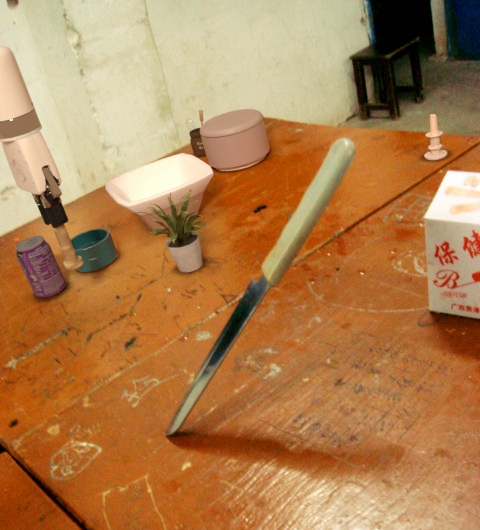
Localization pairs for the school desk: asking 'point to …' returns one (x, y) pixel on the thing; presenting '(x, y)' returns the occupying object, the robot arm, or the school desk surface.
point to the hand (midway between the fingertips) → (56, 222)
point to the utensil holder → (197, 139)
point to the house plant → (181, 235)
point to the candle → (434, 141)
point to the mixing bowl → (94, 249)
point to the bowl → (161, 187)
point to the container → (235, 139)
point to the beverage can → (40, 266)
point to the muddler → (66, 246)
